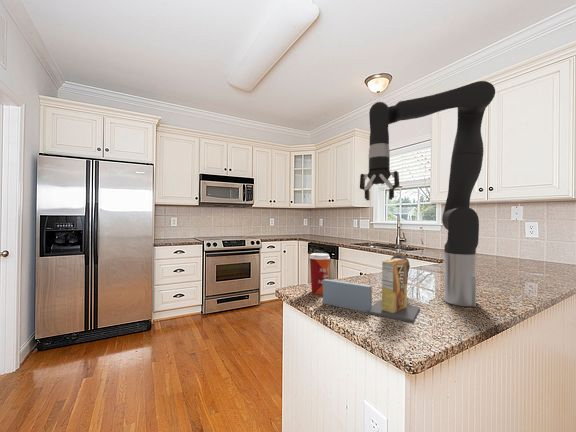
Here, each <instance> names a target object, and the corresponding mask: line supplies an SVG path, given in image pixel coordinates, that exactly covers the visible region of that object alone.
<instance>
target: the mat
mask: <svg viewBox="0 0 576 432" xmlns="http://www.w3.org/2000/svg"><path fill="white" fill-rule="evenodd" d="M420 310H421V309H420V306H417V305H411V304H410V305H409V304H407V307H406V308H404V309H401V310H399V311H397V312H395V313H390V312H387V311H383V310H382V299H381V300H380V299H378V300H377V301H376V302H375V303H374V304H373V305H372V309H370V310H367V312H366V313H367V315H368V314H369V315H373V316H378V317H383V318H386V319H387V318H389V319H394V320H398V321H402V322H403V321H404V322H408V323H414V322H415V320H416V318H417V317H418V314H419V312H420Z"/></svg>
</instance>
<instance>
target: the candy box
mask: <svg viewBox="0 0 576 432" xmlns="http://www.w3.org/2000/svg"><path fill="white" fill-rule="evenodd" d="M390 259H391V258H390ZM390 259H387V260H382V261H381V263H382V264H381V265H382V267H381V301H382V310H383V311H387V312H390V313H395V312H397V311H399V310H401V309H404V308H406V307H407V305H408V304H407V303H408V300H407V299H408V296H407V295H408V281H407V260H405V259H397V258H395V259H391V260H390Z"/></svg>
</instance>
